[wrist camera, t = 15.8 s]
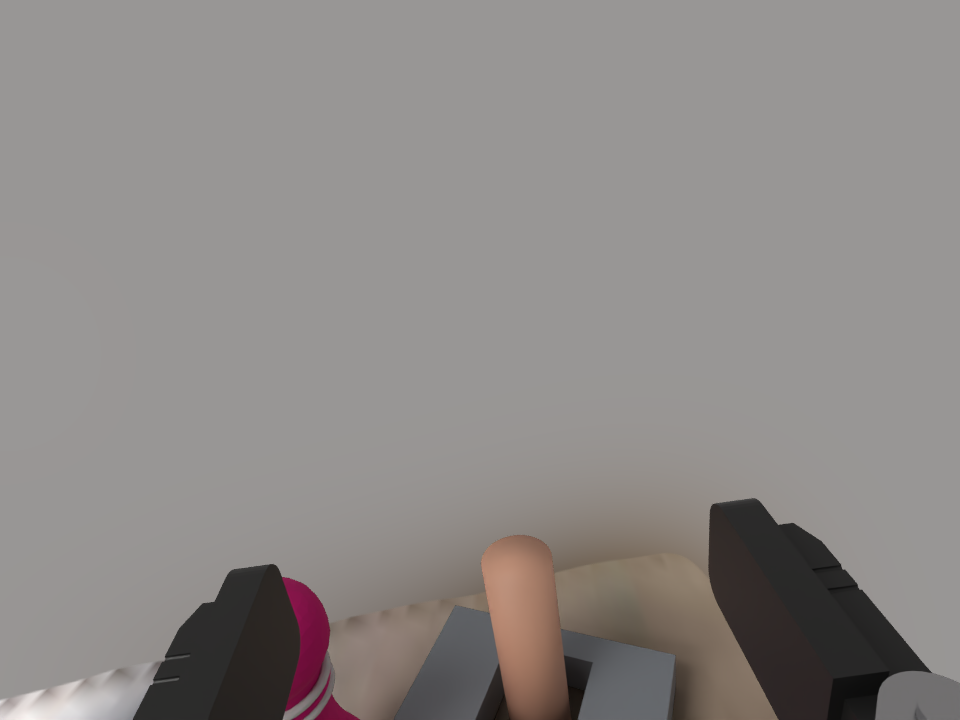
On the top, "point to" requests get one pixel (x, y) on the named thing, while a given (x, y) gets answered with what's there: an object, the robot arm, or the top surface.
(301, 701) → the pepper mill
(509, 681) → the dowel
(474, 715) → the socket block
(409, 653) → the top surface
